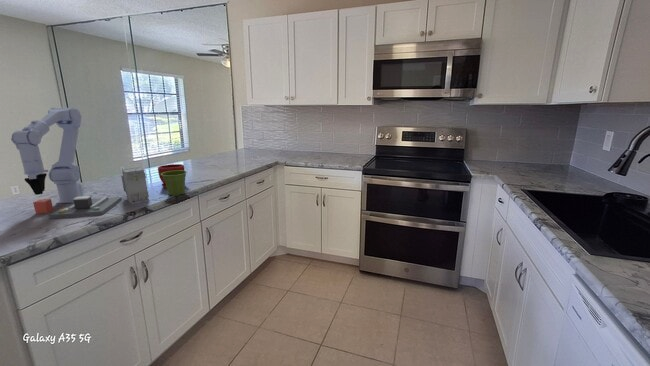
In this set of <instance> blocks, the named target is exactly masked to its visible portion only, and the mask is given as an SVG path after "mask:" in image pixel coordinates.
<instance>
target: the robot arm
mask: <svg viewBox="0 0 650 366" xmlns="http://www.w3.org/2000/svg"><path fill="white" fill-rule="evenodd" d="M82 117H83V116H82V115H81V112H80V110H78V108H76V107H51V108H50V109H48V110H47V114H46V115H45V116H44V117H42V118H41V120H31V121H30V123H29V124H28V125H27V126H24V127H23V128H22V129H21V130H16V131H14V132H13V133H12V135H11V138H10V140H11V142H12V143H13V144H14V145H15V147H16V149H17V150H18V152H19V156H20V159H21V163H22V167H23V170H24V172H23V173H24V175H25V176H27V177H25V178H24V181H25V183H27V184H28V185H29V187H30V189H31V190H32V192H33V194H34V195H35V196H38V195H42V194H43V193H44V191H45V189H46V186H45V185H46V177H47V175H48V179H49V180H50V181H51V182H53V184H54V185H55V186H56V190H57V194H58V197H59V200H58V201H56V202H55V204H70V203H72V202H74V201H73V199H74V198H76V197H82V196H84V192H83V186H82V184H81V182H80V181H79V179H80V177H81V173H80V167H79V165H77V164H76V163H74V162H75V155H76V151H77V150H76V149H77V142H78V136H79V131H80V130H79V129H80V128H81V123H82ZM54 124H56V126H58V127H59V128H61V129H62V130H63V131H62V138H61V144H60V150H59V155H58V161H57V162H55V163H53V164H52V165H51V168H50V170H49V169H45V168H44V164H43V161H42V156H41V152H40V147H39V145H40V144H41V141H42V139H43V137H44V136H45V135H46V134H47V133H49V132H50V127H51V126H54ZM47 173H48V174H47Z"/></svg>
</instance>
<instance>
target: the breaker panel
mask: <svg viewBox="0 0 650 366" xmlns="http://www.w3.org/2000/svg"><path fill="white" fill-rule="evenodd" d="M91 199H92V204H93V205H92V206H90V208H85V209H75V205H74V202H72V203H68V204H67V205H66V206H65V205H64V206H63V207H61V208H60V209H59V208H58V210H56V211H54V212H52V213H51V214H48V217H49V219H50V220H51V219H61V218H63V219H64V218H76V217H77V216H78V217H88V216H87V215H91V216H102V215H101V214H103V215H105V214H106V213H107V212H108V211H109V210H111V209H112V208H114V207H115V206H116V205H117V204H119V203H120V202H121V201H122V200H123V199H122V196H121V197H120V196H119V197H118V196H117V197H109V196H103V198H91Z"/></svg>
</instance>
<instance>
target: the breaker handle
mask: <svg viewBox="0 0 650 366" xmlns="http://www.w3.org/2000/svg"><path fill="white" fill-rule="evenodd" d="M92 199H93V198H92V196H91V195H83V196H82V197H76V198H74V199H73V201H74V205H75V209H85V208H90V206H92V205H93V204H92Z"/></svg>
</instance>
